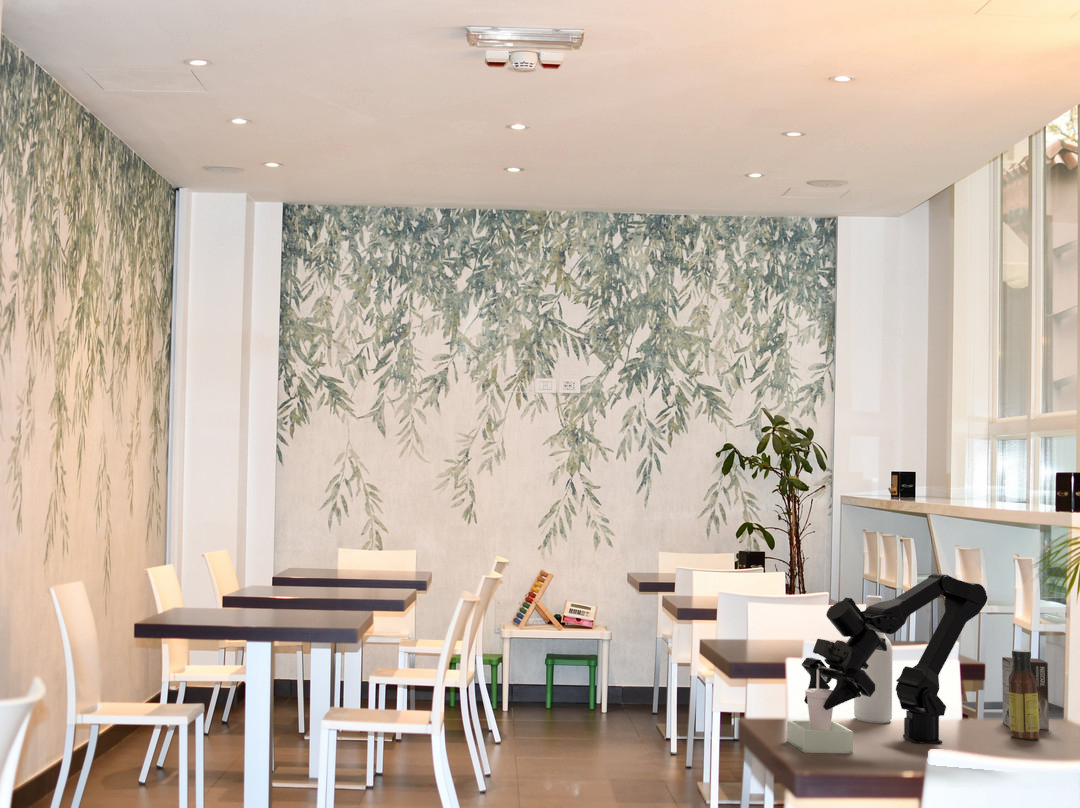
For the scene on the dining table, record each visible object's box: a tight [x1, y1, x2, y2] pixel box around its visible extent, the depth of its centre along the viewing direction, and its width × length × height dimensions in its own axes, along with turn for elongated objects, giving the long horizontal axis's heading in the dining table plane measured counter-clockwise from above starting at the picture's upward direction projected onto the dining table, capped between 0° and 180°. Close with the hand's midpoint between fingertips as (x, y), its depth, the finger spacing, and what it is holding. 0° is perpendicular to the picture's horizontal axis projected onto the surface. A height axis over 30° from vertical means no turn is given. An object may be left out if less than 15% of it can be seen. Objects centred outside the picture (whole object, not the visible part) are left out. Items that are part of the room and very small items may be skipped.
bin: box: [786, 719, 854, 754], centre depth 230 cm, size 11×11×4 cm
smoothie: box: [804, 670, 834, 730], centre depth 230 cm, size 6×6×14 cm
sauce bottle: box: [1008, 649, 1040, 741], centre depth 249 cm, size 6×6×20 cm
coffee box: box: [1001, 656, 1050, 730], centre depth 262 cm, size 9×6×16 cm
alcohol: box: [853, 594, 893, 725], centre depth 263 cm, size 9×9×30 cm
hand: (815, 705), depth 230 cm, fingers closed on smoothie, 6 cm apart
